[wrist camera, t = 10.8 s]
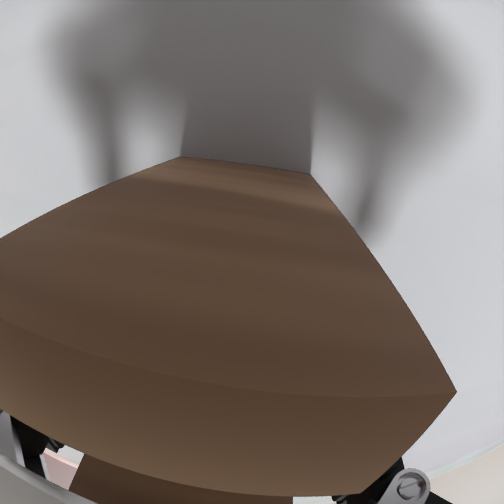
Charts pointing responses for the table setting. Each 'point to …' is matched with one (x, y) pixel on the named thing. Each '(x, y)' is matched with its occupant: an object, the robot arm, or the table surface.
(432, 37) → the table surface
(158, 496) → the domino
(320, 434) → the domino
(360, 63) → the table surface
